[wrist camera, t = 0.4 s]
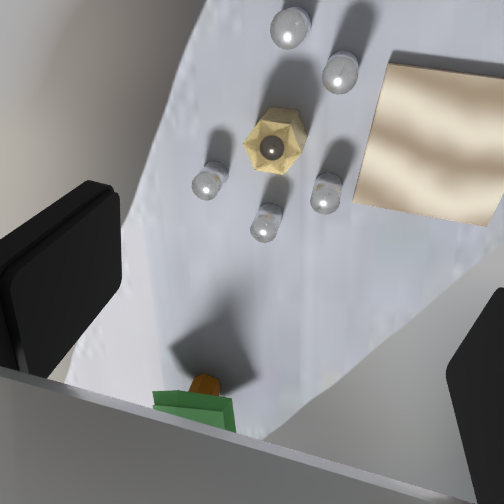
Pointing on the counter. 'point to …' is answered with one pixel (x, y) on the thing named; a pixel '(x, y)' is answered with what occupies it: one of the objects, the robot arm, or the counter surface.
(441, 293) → the counter surface
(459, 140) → the pad
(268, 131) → the brass nut
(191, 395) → the decorative tree
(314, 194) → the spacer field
